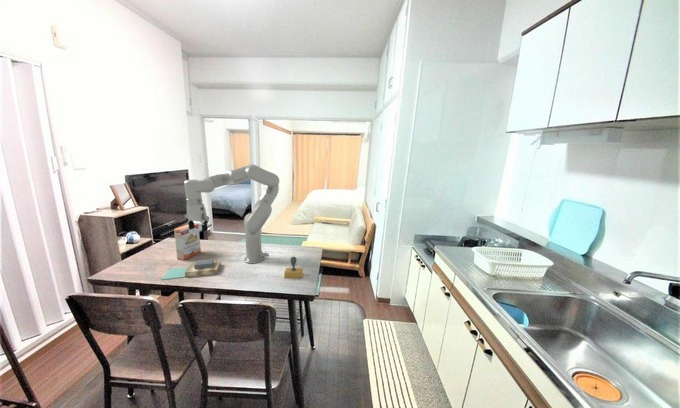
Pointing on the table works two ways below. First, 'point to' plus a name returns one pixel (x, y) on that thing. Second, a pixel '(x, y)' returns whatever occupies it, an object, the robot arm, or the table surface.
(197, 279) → the table surface
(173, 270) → the mat
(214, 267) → the deck
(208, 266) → the blue-grey flat block
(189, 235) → the cracker box
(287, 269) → the rubber stamp
